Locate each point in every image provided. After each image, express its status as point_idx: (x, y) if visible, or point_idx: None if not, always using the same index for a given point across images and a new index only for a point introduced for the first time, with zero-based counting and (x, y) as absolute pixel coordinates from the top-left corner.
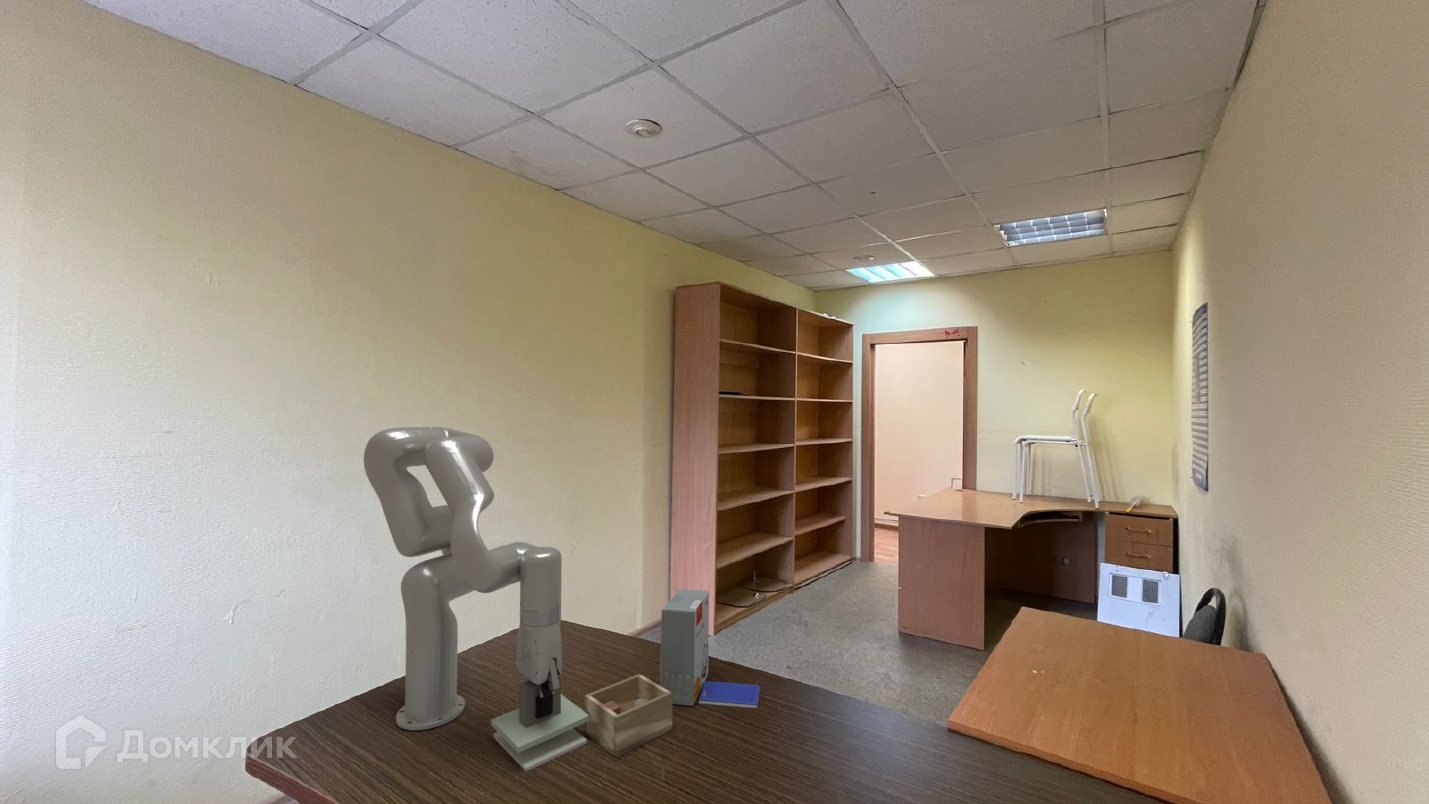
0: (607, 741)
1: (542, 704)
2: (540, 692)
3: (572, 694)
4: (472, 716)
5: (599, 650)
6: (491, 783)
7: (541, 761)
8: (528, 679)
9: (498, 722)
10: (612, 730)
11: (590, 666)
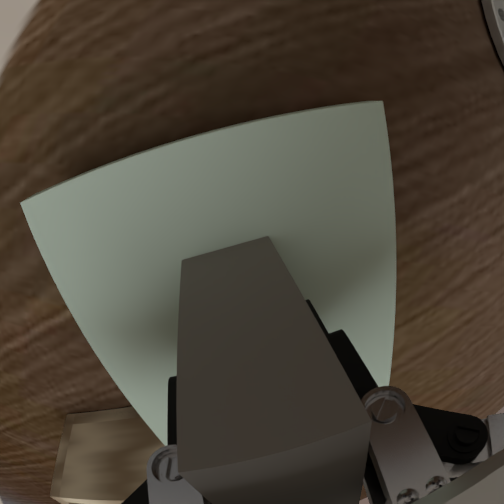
0: (94, 429)
1: (168, 418)
2: (149, 491)
3: (413, 371)
4: (492, 103)
5: (488, 400)
6: (39, 80)
7: None
8: (392, 459)
9: (331, 128)
10: (69, 462)
11: (466, 393)
